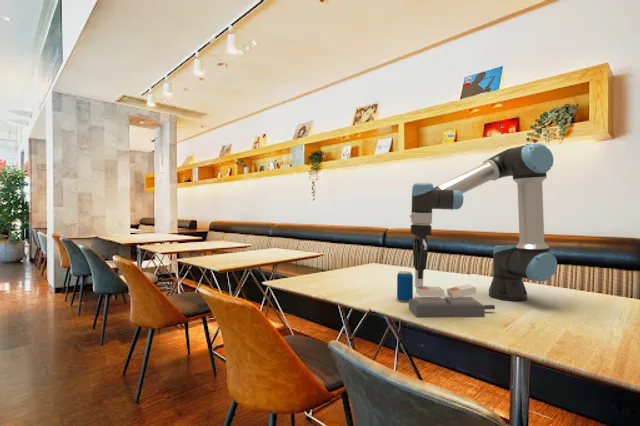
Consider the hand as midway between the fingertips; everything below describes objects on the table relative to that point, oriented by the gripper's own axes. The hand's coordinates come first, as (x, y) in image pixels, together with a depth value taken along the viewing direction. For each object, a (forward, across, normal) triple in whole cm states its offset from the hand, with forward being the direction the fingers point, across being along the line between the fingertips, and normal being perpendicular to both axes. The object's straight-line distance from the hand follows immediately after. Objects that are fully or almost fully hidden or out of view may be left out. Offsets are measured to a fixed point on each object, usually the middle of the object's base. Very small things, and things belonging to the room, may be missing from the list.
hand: (418, 286), depth 133 cm
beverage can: (+10, -17, 0) cm, 20 cm away
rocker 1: (+3, 0, +4) cm, 5 cm away
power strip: (+10, 0, +13) cm, 17 cm away
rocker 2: (+2, 0, +17) cm, 17 cm away
